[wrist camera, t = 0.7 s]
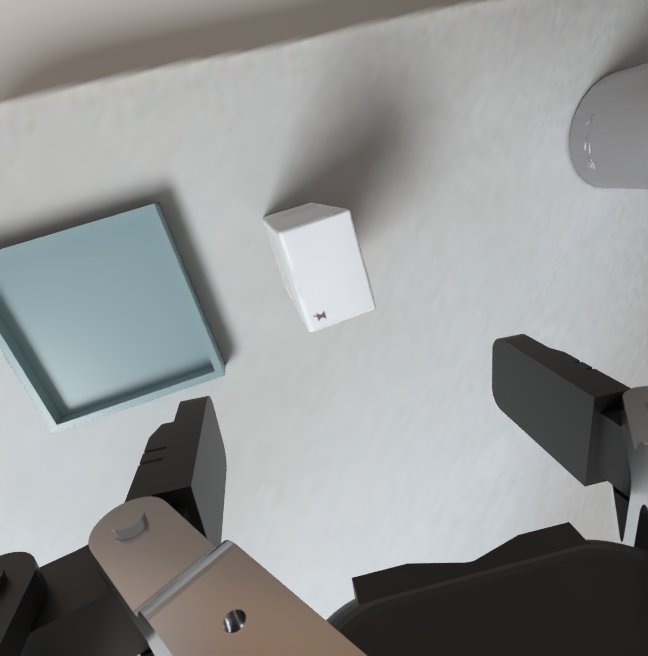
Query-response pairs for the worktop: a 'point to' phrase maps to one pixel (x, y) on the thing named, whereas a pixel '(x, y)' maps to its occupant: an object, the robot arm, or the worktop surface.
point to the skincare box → (320, 263)
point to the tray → (103, 318)
